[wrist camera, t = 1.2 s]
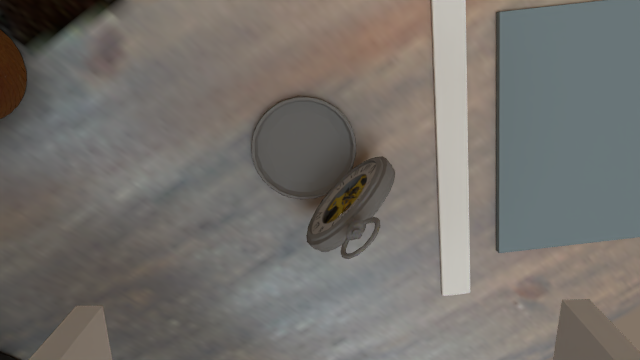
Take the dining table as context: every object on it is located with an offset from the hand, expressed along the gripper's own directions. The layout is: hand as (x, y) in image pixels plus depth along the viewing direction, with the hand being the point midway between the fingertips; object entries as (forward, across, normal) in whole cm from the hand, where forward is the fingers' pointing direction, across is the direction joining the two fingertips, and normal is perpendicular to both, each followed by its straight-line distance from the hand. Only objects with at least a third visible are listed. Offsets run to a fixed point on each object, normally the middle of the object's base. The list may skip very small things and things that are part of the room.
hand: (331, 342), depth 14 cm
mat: (+20, -18, -2) cm, 27 cm away
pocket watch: (+19, +1, 0) cm, 19 cm away
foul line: (+19, -8, -1) cm, 21 cm away
